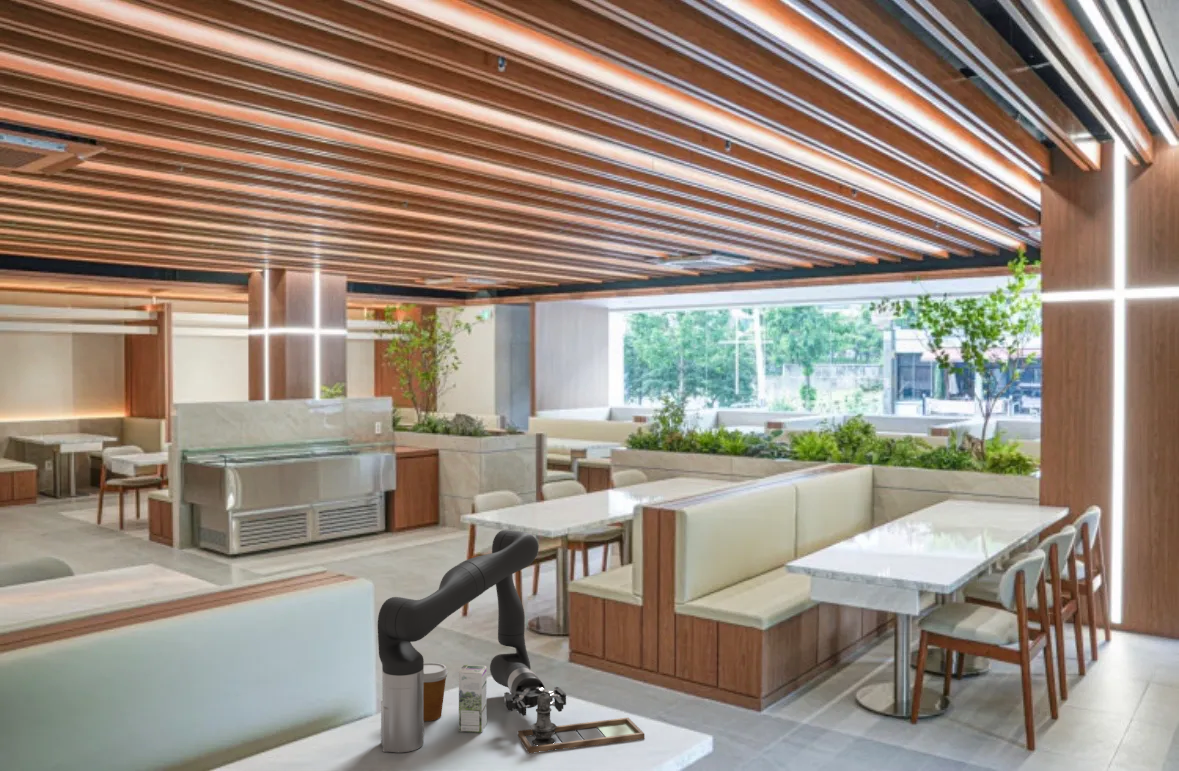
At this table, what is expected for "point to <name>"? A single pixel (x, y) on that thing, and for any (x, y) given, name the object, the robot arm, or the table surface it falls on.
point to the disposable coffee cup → (433, 690)
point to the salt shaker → (543, 722)
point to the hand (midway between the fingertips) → (542, 709)
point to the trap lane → (587, 734)
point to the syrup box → (472, 698)
